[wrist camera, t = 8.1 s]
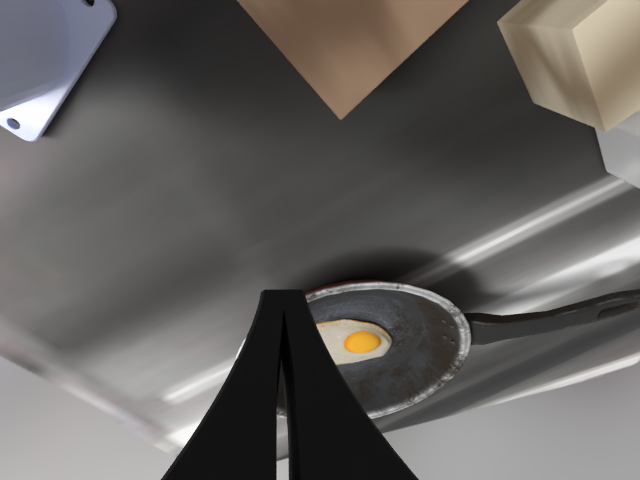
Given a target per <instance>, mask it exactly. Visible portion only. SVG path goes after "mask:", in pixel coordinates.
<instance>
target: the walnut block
mask: <svg viewBox="0 0 640 480" xmlns="http://www.w3.org/2000/svg"><path fill="white" fill-rule="evenodd" d="M237 1H238V2H239V3H240V5H241V6H242V7H243V8H244V9H245V10H246V12H247V13H248V14H249V15H250V16H251V17H252V18H253V20H254V21H255V22H256V23H257V24H258V25H259V27H260V28H261V29H262V30H263V31H264V32H265V33H266V35H267V36H268V37H269V38H270V39H271V40H272V42H273V43H274V44H275V45H276V46H277V47H278V48H279V50H280V51H281V52H282V53H283V54H284V55H285V57H286V58H287V59H288V60H289V61H290V62H291V64H292V65H293V66H294V67H295V68H296V69H297V70H298V72H299V73H300V74H301V75H302V76H303V77H304V79H305V80H306V81H307V82H308V83H309V84H310V85H311V87H312V88H313V89H314V90H315V91H316V92H317V94H318V95H319V96H320V97H321V98H322V99H323V101H324V102H325V103H326V104H327V105H328V106H329V107H330V109H331V110H332V111H333V112H334V113H335V114H336V116H337V117H338V118H339V119H340V120H341V119H342V118H344V117H345V116H346V115H347V114H348V113H349V112H350V111H351V110H352V109H353V108H354V107H355V106H356V105H357V104H358V103H360V102H361V101H362V100H363V99H364V98H365V97H366V96H367V95H368V94H369V93H370V92H371V91H372V90H373V89H374V88H376V87H377V86H378V85H379V84H380V83H381V82H382V81H383V80H384V79H385V78H386V77H387V76H388V75H389V74H390V73H392V72H393V71H394V70H395V69H396V68H397V67H398V66H399V65H400V64H401V63H402V62H403V61H404V60H405V59H406V58H408V57H409V56H410V55H411V54H412V53H413V52H414V51H415V50H416V49H417V48H418V47H419V46H420V45H421V44H423V43H424V42H425V41H426V40H427V39H428V38H429V37H430V36H431V35H432V34H433V33H434V32H435V31H436V30H437V29H439V28H440V27H441V26H442V25H443V24H444V23H445V22H446V21H447V20H448V19H449V18H450V17H451V16H452V15H453V14H455V13H456V12H457V11H458V10H459V9H460V8H461V7H462V6H463V5H464V4H465V3H466V2H467V1H468V0H237Z"/></svg>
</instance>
